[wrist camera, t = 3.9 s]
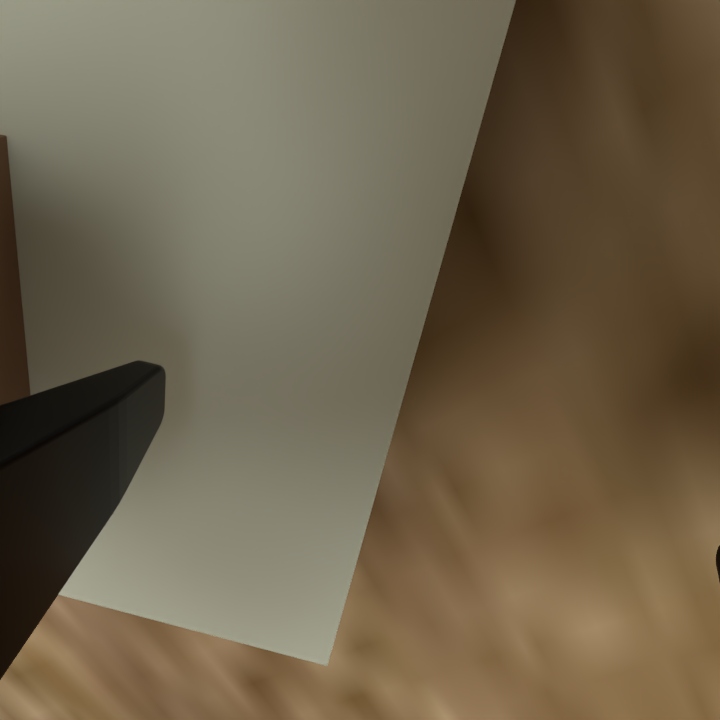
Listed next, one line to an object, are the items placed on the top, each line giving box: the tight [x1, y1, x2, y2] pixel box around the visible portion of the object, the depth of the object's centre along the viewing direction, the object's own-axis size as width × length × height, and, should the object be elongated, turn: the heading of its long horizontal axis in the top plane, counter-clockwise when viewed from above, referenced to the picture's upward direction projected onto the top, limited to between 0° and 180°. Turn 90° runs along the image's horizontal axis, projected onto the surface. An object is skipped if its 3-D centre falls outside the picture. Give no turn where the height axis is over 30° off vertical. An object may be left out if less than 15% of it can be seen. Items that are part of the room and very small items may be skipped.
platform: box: [0, 0, 516, 666], centre depth 11 cm, size 14×14×3 cm
